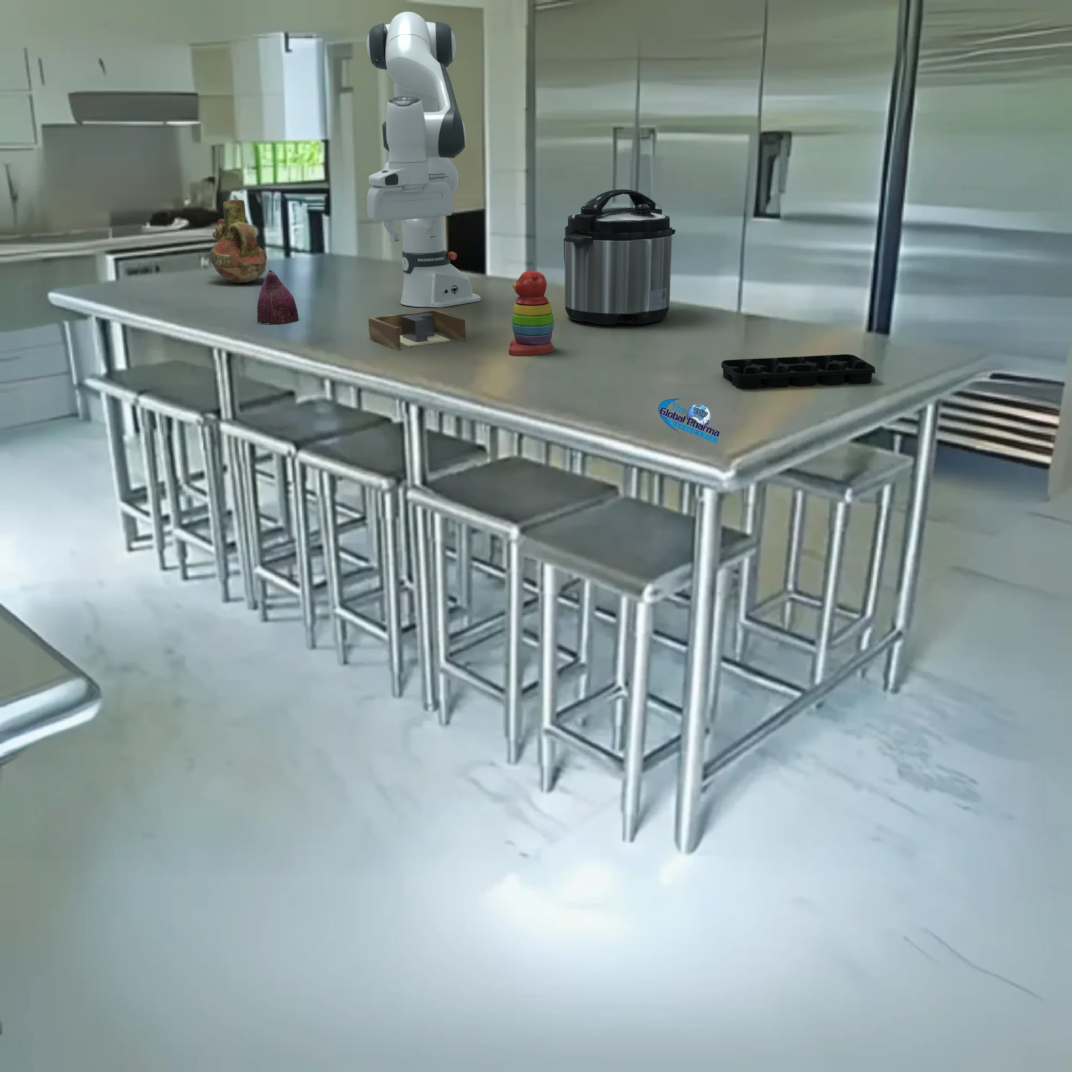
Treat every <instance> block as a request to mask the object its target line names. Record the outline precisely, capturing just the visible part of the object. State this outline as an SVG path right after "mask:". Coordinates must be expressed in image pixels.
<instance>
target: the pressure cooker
mask: <svg viewBox="0 0 1072 1072" xmlns="http://www.w3.org/2000/svg"><path fill="white" fill-rule="evenodd" d="M621 195H628V196H629V198H630V199H631V202H632V204H633V205H634V207H626V206H625V207H618V206H617V207H608V208H605V207H606V205H607V204H608V203H609V201H610V200H611V199H612V198H614V197H617V196H621ZM656 206H657V203H656V202H655V201H654V200H653V199H651V198H650V197H649V196H647V195H646V194H644V193H642V192H638V191H636V190H632V189H623V188H622V189H613V190H608V191H605V192H602V193H600V194H597V195H596V196H594V197H592V198H591V199H590V200H589V201H587V202H586V203H584V204H583V205H582V206H581V207H580V212H579V213H575V214H570V215H569V216H568V217H567V225H566V226H565V227H564V238H563V261H564V309H565V311H566V314H567V316H568V318H570V319H571V320H575V321H578V322H584V321H585V322H588V323H592V324H594V323H595V324H598V325H617V324H618V323H619V324H620V323H621V324H629V325H630V324H631V325H633V324H634V325H635V324H636V325H637V324H638V325H639V324H641V325H644V324H649V323H656V322H659V321H661V320H663V319H665V318H666V316H667V314H668V313H669V310H670V306H671V302H670V301H671V295H670V294H671V274H672V250H673V249H672V248H673V236H674V235H675V233H676V229H674V228H673V227H672V226H671V220H670V219H671V217H670V216H669V215H665V214H663V210H662V208H656Z"/></svg>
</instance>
